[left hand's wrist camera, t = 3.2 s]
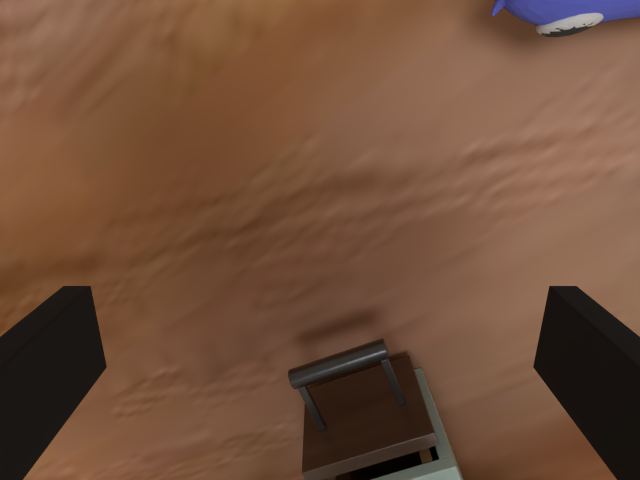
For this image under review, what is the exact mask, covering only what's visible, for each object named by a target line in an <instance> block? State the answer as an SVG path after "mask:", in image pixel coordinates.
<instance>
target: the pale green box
mask: <svg viewBox="0 0 640 480" xmlns="http://www.w3.org/2000/svg"><path fill="white" fill-rule="evenodd" d="M414 370H415V373H416V376H417V379H418V382H419V385H420V388H421V391H422V394H423V397H424V400H425V403H426V406H427V409H428V412H429V415H430V418H431V421H432V424H433V427H434V430H435V433H436V436H437V439H438V442H439V445H437V446H434V447H435V450H436V452H437V455H438V457H439V460H435V461H432V462H428V463H425V464H422V465H418V466H415V467H412V468H408V469H405V470H401V471H398V472H395V473H391V474H388V475H385V476H381V477H378V478H374V479H371V480H463V477H462V474H461V472H460V469H459V466H458V464H457V461H456V459H455V456H454V453H453V451H452V448H451V445H450V443H449V440H448V437H447V435H446V432H445V429H444V427H443V424H442V422H441V419H440V416H439V414H438V411H437V408H436V406H435V403H434V400H433V398H432V395H431V392H430V390H429V387H428V385H427V382H426V379H425V377H424V374H423V371H422V369H421V368H417V369H414ZM324 480H326V479H324Z"/></svg>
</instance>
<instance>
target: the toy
mask: <svg viewBox="0 0 640 480" xmlns="http://www.w3.org/2000/svg"><path fill="white" fill-rule="evenodd" d="M503 7H504V8H505V9H506V10H507V11H508V12H510V13H511V14H513V15H515V16H516V17H518V18H519V19H521V20H524V21H526V22H529V23H532V24H535V25H537V26H536V31H537V32H538V33H539V34H540V35H543V36H547V37H561V36H567V35H572V34H576V33H579V32H581V31H584V30H586V29H588V28H590V27H593V26H594V25H596V24H597V23H601V22H607V21H612V20H618V19H625V18H635V17H640V0H496V1H495V4H494V6H493V9H492V12H491V16H495V15H496V14H497V13H498V12H499V11H500V10H501V9H502V8H503Z"/></svg>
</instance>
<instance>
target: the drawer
mask: <svg viewBox="0 0 640 480" xmlns="http://www.w3.org/2000/svg"><path fill="white" fill-rule="evenodd" d="M389 358H390V354H389V351H388V348H387V345H386V343H385V340H384V339H383V338H382V339H379V340H376V341H373V342H370V343H367V344H364V345H361V346H358V347H355V348H352V349H349V350H346V351H343V352H340V353H338V354H335V355H332V356H329V357H326V358H323V359H320V360H317V361H314V362H311V363H308V364H305V365H302V366H299V367H296V368H293V369H290V370H289V371H288V376H289V381H290V384H291V386H292V387H293V388H294V389H297V388H298V390H299V392H300V394H301V396H302V398H303V400H304V402H305V413H304V437H303V461H302V474H303V476H304V478H305V480H324V479H326V480H371V479H374V478H378V477H381V476H385V475H388V474H391V473H395V472H398V471H401V470H405V469H408V468H412V467H415V466H418V465H422V464H425V463H428V462H432V461H435V460H439V457H438V455H437V452H436V450H435V447H434V446H437V445H439V442H438V439H437V436H436V433H435V430H434V427H433V424H432V421H431V418H430V415H429V412H428V409H427V406H426V403H425V400H424V397H423V394H422V391H421V388H420V385H419V382H418V379H417V376H416V373H415V370H414V367H413V364H412V362H411V359H410V356H406V357H403V358H400V359H397V360H394V361H391V362H390V361H389ZM379 361H381V364H382V365H379V366H376V367H373V368H370V369H366V370H363V371H360V372H357V373H354V374H351V375H348V376H345V377H342V378H339V379H336V380H333V381H330V382H327V383H324V384H321V385H318V386H315V387H312V388H309V389H308V387H307V385H309V384H312V383H315V382H318V381H321V380H324V379H327V378H331V377H334V376H337V375H340V374H343V373H346V372H349V371H352V370H355V369H358V368H361V367H364V366H367V365H370V364H373V363H376V362H379Z"/></svg>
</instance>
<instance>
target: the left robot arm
mask: <svg viewBox="0 0 640 480" xmlns="http://www.w3.org/2000/svg"><path fill="white" fill-rule="evenodd" d="M106 367H107V366H106V361H105V356H104V351H103V346H102V341H101V336H100V331H99V326H98V321H97V316H96V311H95V306H94V301H93V296H92V291H91V286H63V287H62V288H61V289H59V290H58V291H57V292H56V293H54V294H53V295H52V296H51V297H49V298H48V299H47V300H46V301H45V302H43V303H42V304H41V305H40V306H38V307H37V308H36V309H35V310H33V311H32V312H31V313H30V314H28V315H27V316H26V317H25V318H23V319H22V320H21V321H20V322H18V323H17V324H16V325H15V326H13V327H12V328H11V329H10V330H8V331H7V332H6V333H5V334H3V335H2V336H1V337H0V480H23V479H24V477H25V476H26V475H27V473H28V472H29V471H30V469H31V468H32V467H33V465H34V464H35V463H36V461H37V460H38V459H39V457H40V456H41V455H42V453H43V452H44V451H45V449H46V448H47V447H48V445H49V444H50V442H51V441H52V440H53V438H54V437H55V436H56V434H57V433H58V432H59V430H60V429H61V428H62V426H63V425H64V424H65V422H66V421H67V420H68V418H69V417H70V416H71V414H72V413H73V412H74V410H75V409H76V408H77V406H78V405H79V404H80V402H81V401H82V399H83V398H84V397H85V395H86V394H87V393H88V391H89V390H90V389H91V387H92V386H93V385H94V383H95V382H96V381H97V379H98V378H99V377H100V375H101V374H102V373H103V371H104V370H105V369H106ZM533 367H534V369H535V370H536V371H537V373H538V374H539V375H540V377H541V378H542V379H543V381H544V382H545V383H546V385H547V386H548V387H549V389H550V390H551V391H552V393H553V394H554V395H555V397H556V398H557V399H558V401H559V402H560V404H561V405H562V406H563V408H564V409H565V410H566V412H567V413H568V414H569V416H570V417H571V418H572V420H573V421H574V422H575V424H576V425H577V426H578V428H579V429H580V430H581V432H582V433H583V434H584V436H585V437H586V438H587V440H588V441H589V442H590V444H591V445H592V447H593V448H594V449H595V451H596V452H597V453H598V455H599V456H600V457H601V459H602V460H603V461H604V463H605V464H606V465H607V467H608V468H609V469H610V471H611V472H612V473H613V475H614V476H615V477H616V479H617V480H640V337H639V336H638V335H637V334H635V333H634V332H633V331H632V330H630V329H629V328H628V327H627V326H625V325H624V324H623V323H622V322H620V321H619V320H618V319H617V318H615V317H614V316H613V315H612V314H610V313H609V312H608V311H607V310H605V309H604V308H603V307H602V306H600V305H599V304H598V303H597V302H595V301H594V300H593V299H592V298H591V297H589V296H588V295H587V294H586V293H584V292H583V291H582V290H581V289H579V288H578V287H577V286H549V291H548V296H547V301H546V306H545V311H544V316H543V321H542V326H541V331H540V336H539V341H538V346H537V351H536V356H535V361H534V366H533Z"/></svg>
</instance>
